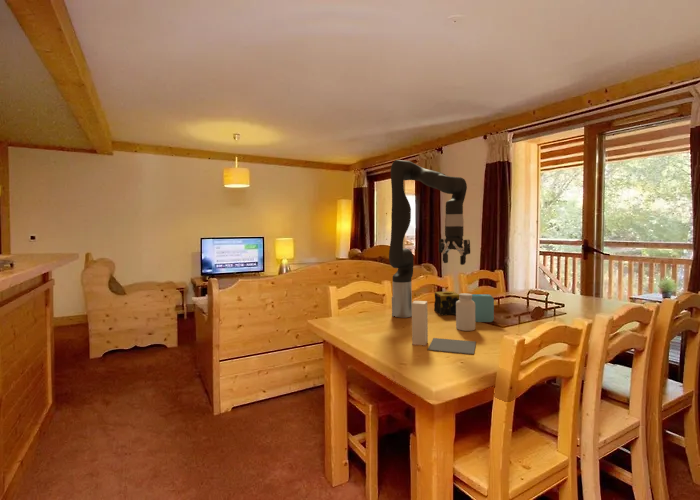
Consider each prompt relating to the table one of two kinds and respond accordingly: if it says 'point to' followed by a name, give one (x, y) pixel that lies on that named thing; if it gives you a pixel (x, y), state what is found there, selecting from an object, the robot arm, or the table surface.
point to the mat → (452, 346)
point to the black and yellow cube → (446, 302)
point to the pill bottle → (465, 312)
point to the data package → (483, 307)
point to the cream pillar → (419, 323)
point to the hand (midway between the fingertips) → (454, 263)
